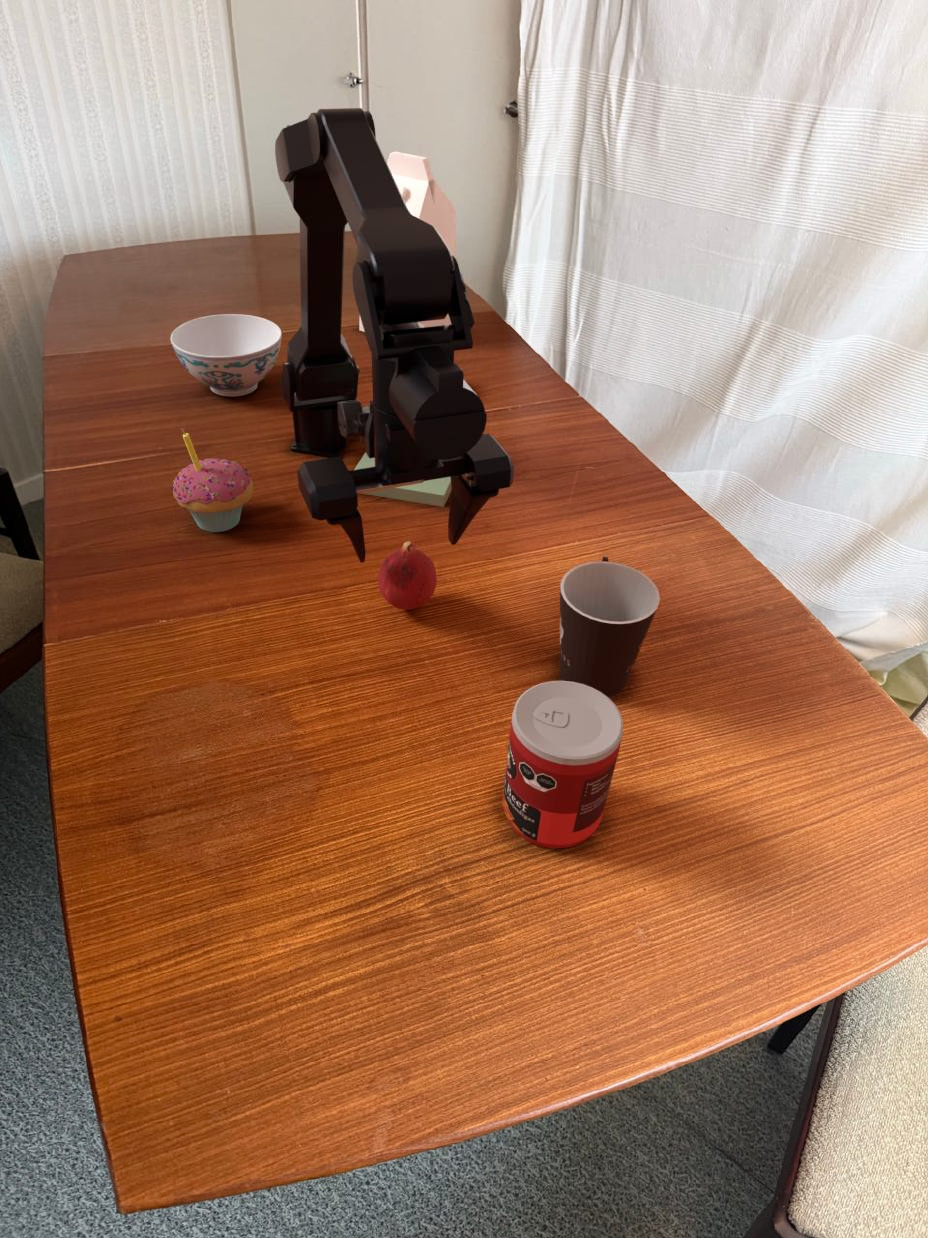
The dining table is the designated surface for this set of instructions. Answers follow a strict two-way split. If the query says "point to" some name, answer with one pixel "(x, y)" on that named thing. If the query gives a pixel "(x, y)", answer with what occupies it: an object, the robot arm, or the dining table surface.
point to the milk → (424, 203)
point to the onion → (407, 577)
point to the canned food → (560, 762)
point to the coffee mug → (604, 623)
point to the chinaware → (228, 351)
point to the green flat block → (413, 488)
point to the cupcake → (212, 490)
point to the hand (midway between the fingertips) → (407, 550)
